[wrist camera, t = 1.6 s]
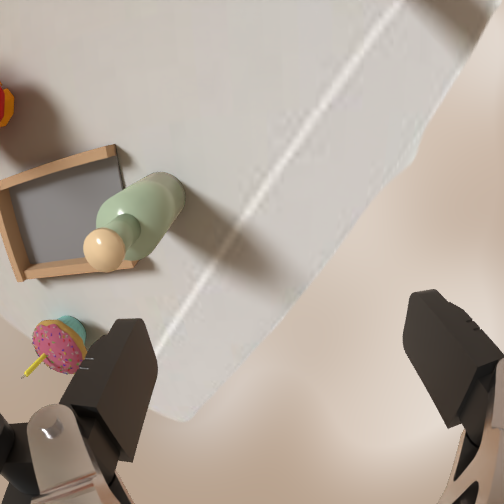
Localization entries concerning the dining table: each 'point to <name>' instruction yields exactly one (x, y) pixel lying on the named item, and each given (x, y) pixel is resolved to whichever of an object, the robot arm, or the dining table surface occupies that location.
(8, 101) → the potion bottle
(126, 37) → the dining table surface
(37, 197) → the wooden shallow tray
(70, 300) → the dining table surface
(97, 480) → the robot arm
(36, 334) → the cupcake
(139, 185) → the bottle
